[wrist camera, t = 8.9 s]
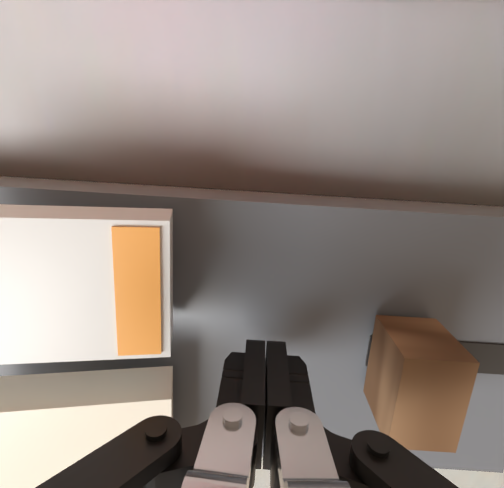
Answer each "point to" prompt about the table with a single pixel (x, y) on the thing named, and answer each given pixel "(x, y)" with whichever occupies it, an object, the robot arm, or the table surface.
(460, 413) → the slider knob
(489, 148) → the table surface
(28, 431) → the block
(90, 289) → the rocker white
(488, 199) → the table surface
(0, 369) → the panel
